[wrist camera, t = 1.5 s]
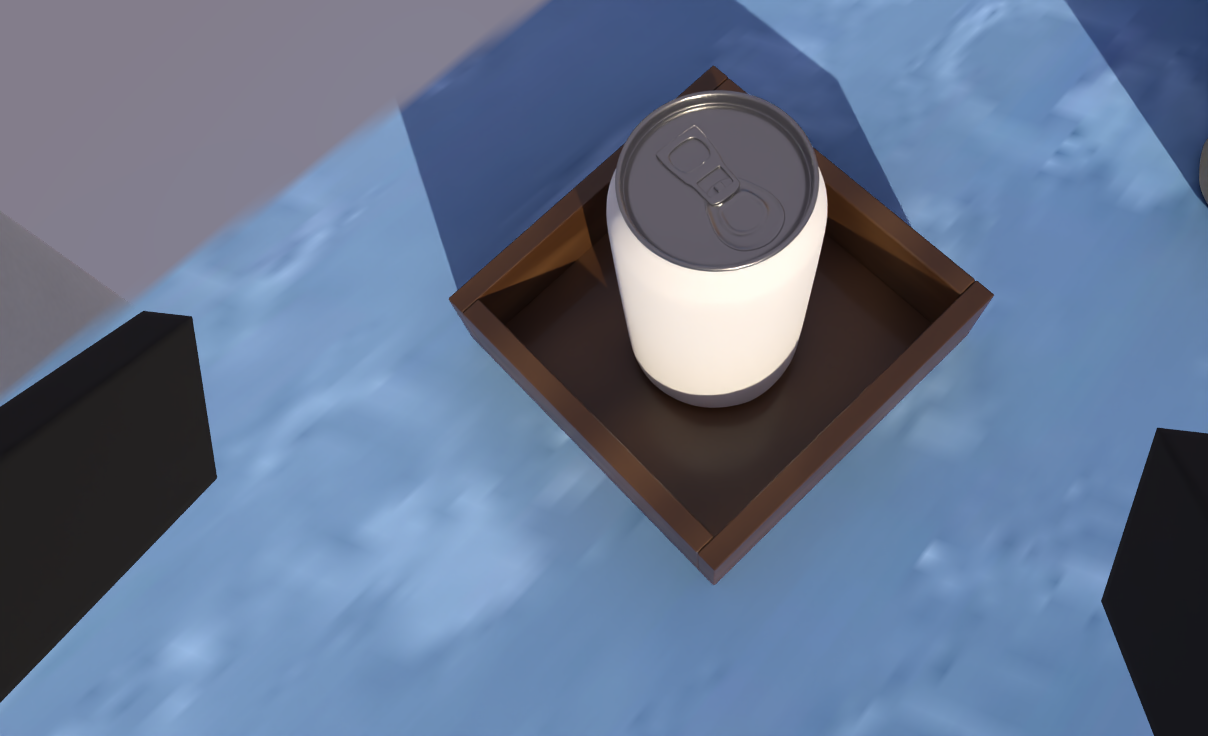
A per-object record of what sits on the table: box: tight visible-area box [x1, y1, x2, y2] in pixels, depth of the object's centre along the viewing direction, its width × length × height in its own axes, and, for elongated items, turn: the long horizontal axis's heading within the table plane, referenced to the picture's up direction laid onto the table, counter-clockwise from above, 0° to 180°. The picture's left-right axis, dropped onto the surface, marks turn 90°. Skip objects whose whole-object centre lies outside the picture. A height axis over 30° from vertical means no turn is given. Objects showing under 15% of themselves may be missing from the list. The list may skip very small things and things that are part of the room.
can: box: [606, 90, 827, 408], centre depth 34 cm, size 6×6×12 cm
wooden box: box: [449, 66, 994, 585], centre depth 38 cm, size 14×14×4 cm
